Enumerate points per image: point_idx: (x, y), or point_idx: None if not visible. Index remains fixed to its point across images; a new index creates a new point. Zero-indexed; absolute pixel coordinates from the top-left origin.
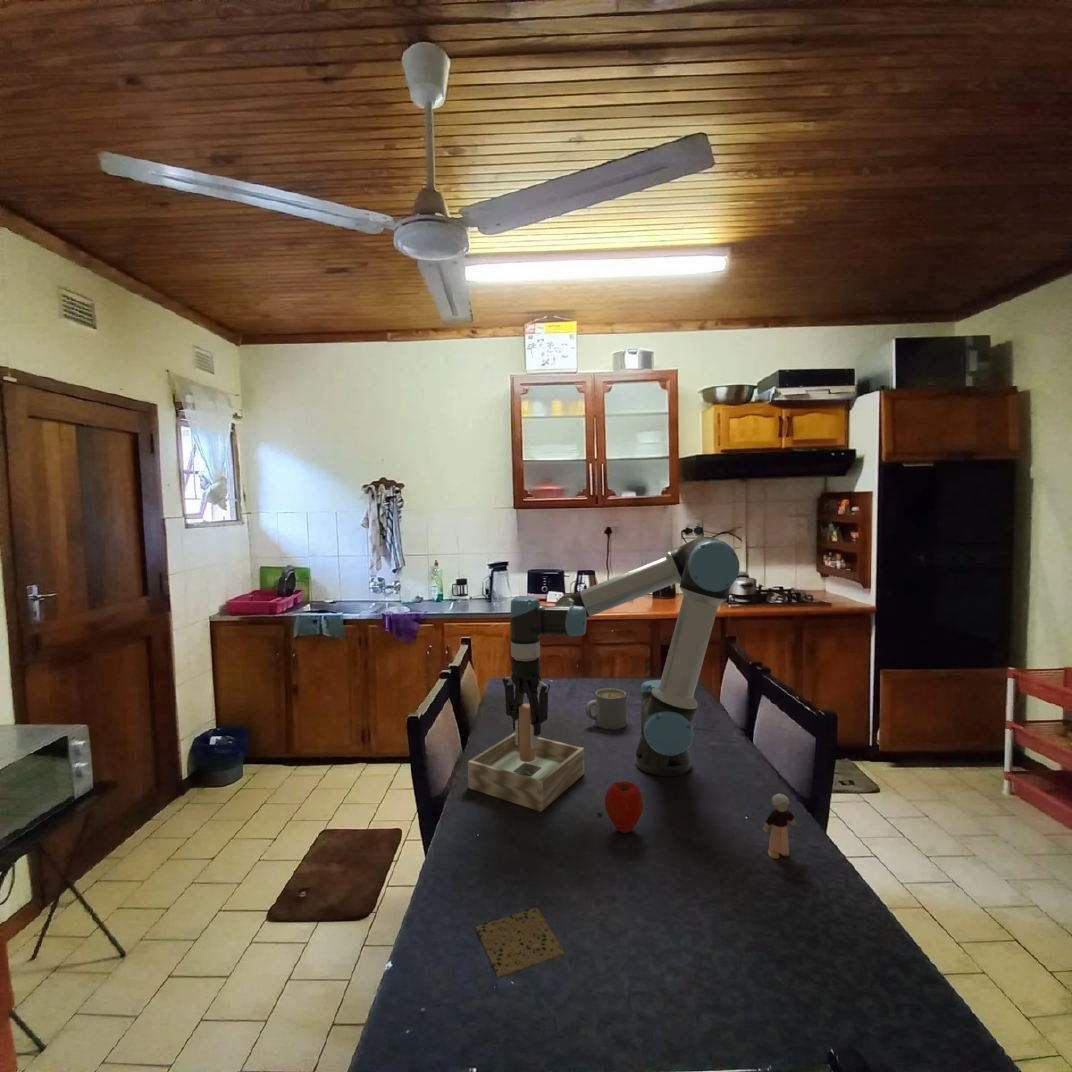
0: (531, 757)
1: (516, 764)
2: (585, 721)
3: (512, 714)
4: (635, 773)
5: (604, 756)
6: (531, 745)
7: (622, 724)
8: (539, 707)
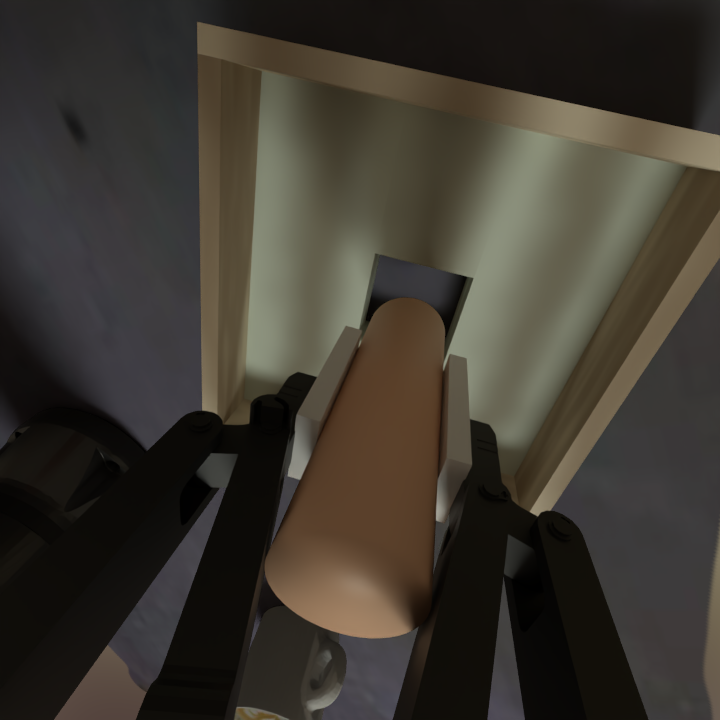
0: (372, 319)
1: (474, 342)
2: (366, 638)
3: (505, 514)
4: (125, 411)
5: None
6: (350, 337)
7: (261, 620)
8: (122, 531)
